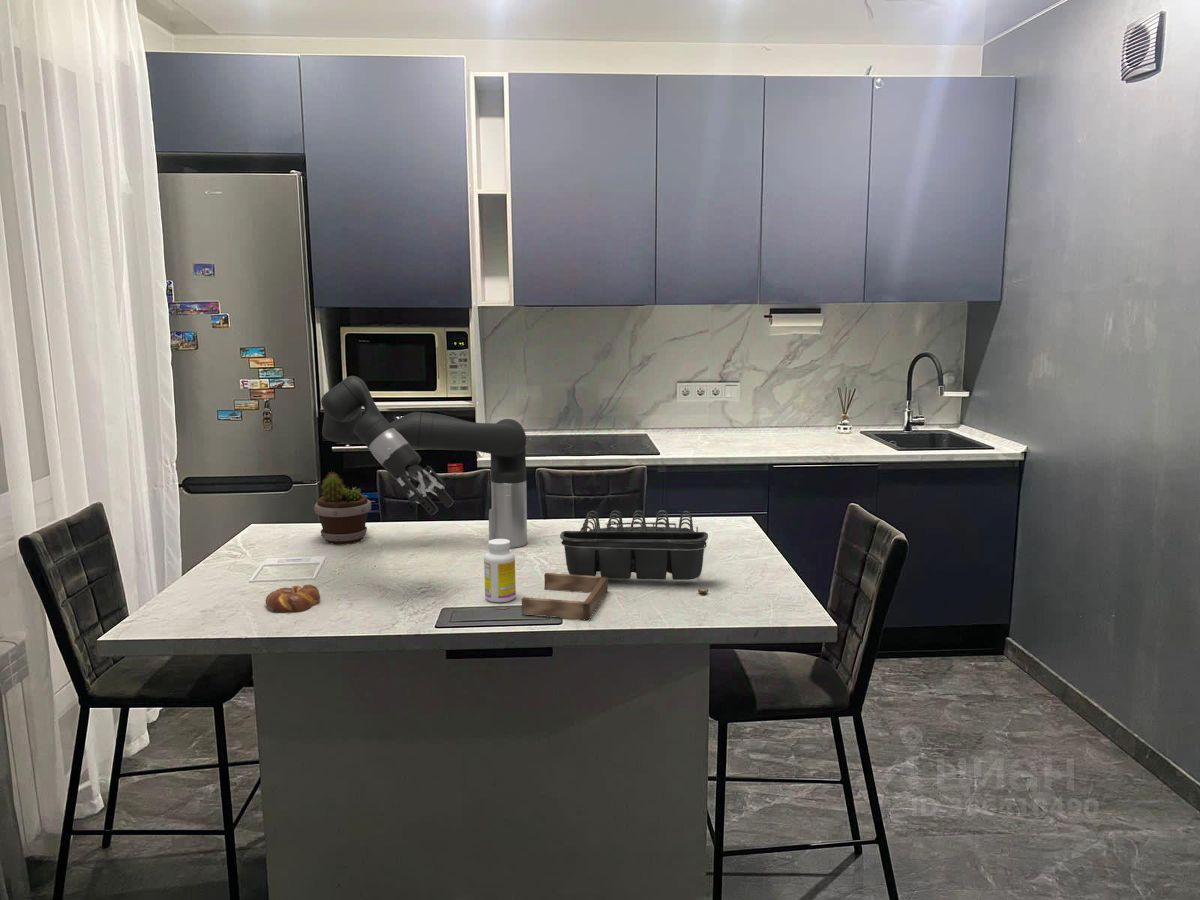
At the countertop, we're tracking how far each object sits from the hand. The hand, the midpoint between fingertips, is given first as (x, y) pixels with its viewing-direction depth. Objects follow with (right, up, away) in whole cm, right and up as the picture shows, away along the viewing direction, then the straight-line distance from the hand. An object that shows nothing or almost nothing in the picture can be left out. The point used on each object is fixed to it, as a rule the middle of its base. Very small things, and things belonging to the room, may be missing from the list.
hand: (443, 508), depth 194 cm
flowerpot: (-35, -12, +47) cm, 60 cm away
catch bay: (+26, -20, -3) cm, 33 cm away
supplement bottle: (+12, -20, 0) cm, 23 cm away
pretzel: (-31, -20, -3) cm, 38 cm away
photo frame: (-41, -17, +21) cm, 49 cm away
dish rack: (+44, -15, +29) cm, 55 cm away
